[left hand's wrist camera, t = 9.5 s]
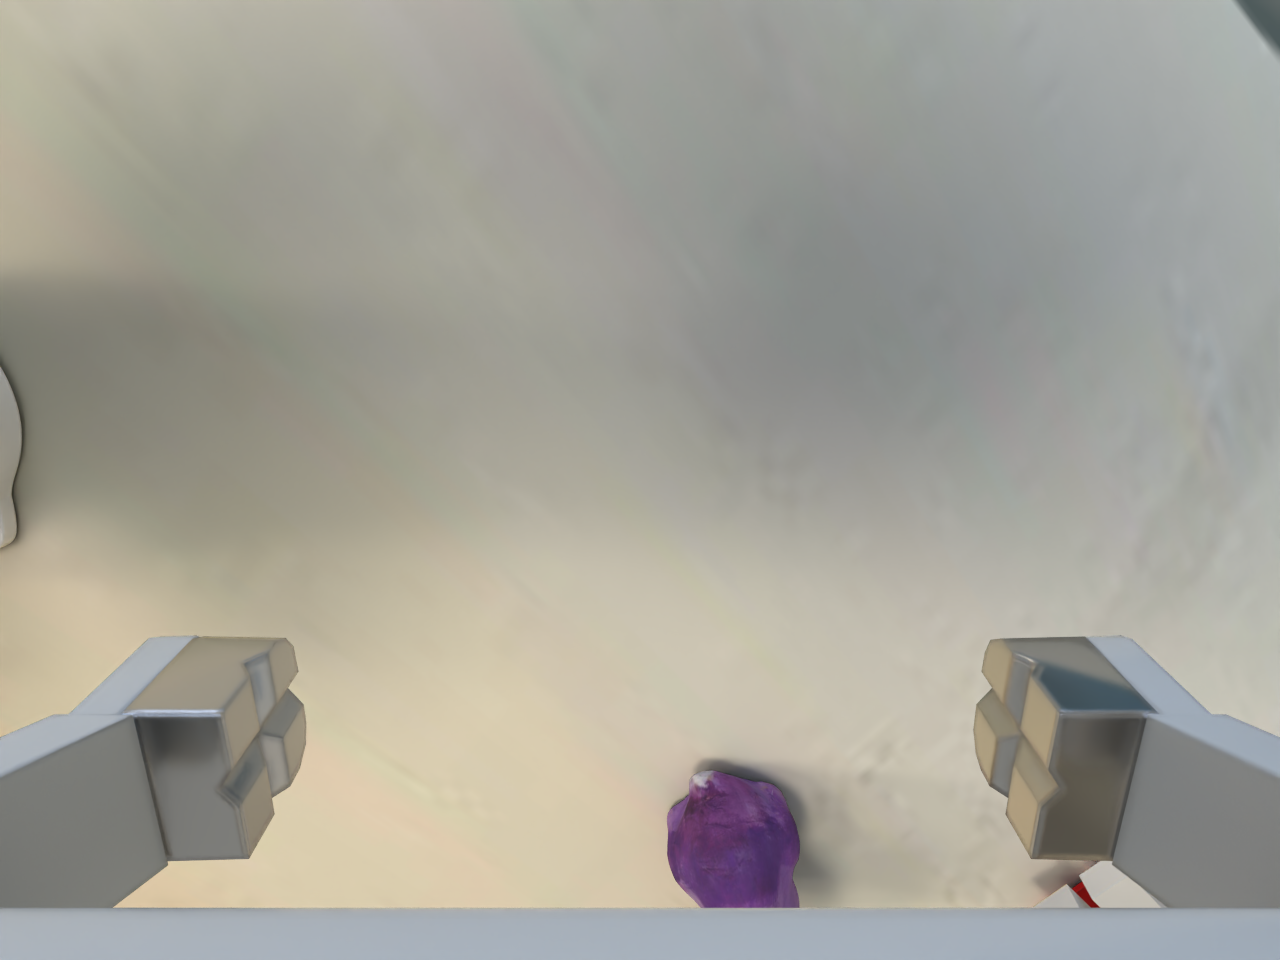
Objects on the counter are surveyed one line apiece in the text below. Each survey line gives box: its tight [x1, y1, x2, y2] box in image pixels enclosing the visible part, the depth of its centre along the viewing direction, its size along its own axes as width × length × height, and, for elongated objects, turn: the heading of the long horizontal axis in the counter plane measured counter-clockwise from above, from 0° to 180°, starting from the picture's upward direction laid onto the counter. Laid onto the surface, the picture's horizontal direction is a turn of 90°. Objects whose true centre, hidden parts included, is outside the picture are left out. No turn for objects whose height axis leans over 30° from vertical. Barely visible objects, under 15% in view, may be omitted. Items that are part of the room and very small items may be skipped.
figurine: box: [667, 770, 800, 908], centre depth 50 cm, size 9×10×15 cm
